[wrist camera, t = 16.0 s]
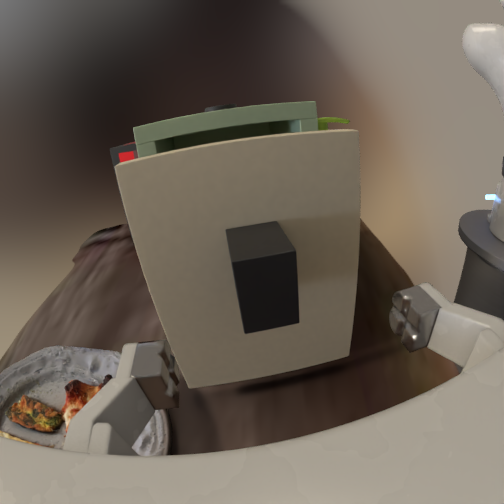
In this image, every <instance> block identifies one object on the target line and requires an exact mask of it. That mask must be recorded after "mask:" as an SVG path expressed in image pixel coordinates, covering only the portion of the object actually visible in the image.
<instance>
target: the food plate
mask: <svg viewBox="0 0 504 504" xmlns="http://www.w3.org/2000/svg"><path fill="white" fill-rule="evenodd" d="M120 357H121V353H118V352H117V351H111V350H110V351H109V350H105V351H104V350H102V349H101V350H99V349H98V350H97V349H88V348H82V347H81V348H79V347H70V346H69V347H67V346H66V347H63V346H59V345H57V346H54V347H49V348H44V349H42V350H40V351H38V352H36V353H32V354H31V355H30V356H28V357H26V358H24V359H22V360H21V361H19V362H17V363H14V364H13V365H11V366H9V367H8V368H7V369H5V370H4V371H3V372H2V373H1V374H0V436H2V437H5V438H9V439H13V440H16V441H21V442H25V443H29V444H34V445H39V446H44V447H50V448H55V449H62V450H63V447H64V443H65V439H66V434H67V431H68V427H69V423H70V420H71V419H72V418H73V417H74V416H75V415H76V414H77V413H78V412H79V411H80V410H81V409H82V408H83V407H84V406H85V405H86V404H87V403H88V402H89V401H90V400H91V399H92V398H93V397H94V396H95V395H96V394H97V393H98V392H99V391H100V390H101V389H102V388H103V387H104V386H105V385H106V384H107V383H108V382H109V381H110V380H111V379H112V378H116V374H117V369H118V365H119V361H120ZM155 411H156V412H155V413H154V415H153V416H152V418H151V419H150V421H149V422H148V424H147V425H146V427H145V428H144V430H143V431H142V433H141V434H140V436H139V437H138V439H137V440H136V442H135V443H134V445H133V446H132V449H133V450H134V451H135V452H136V453H137V454H138V455H140V456H168V455H169V454H170V451H171V445H172V441H171V440H172V439H171V437H172V426H171V422H170V417H169V413H168V411H167V409H162V410H155Z"/></svg>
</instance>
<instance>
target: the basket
mask: <svg viewBox="0 0 504 504" xmlns="http://www.w3.org/2000/svg"><path fill="white" fill-rule="evenodd" d="M115 171H116V176H117V180H118V184H119V189H120V193H121V197H122V201H123V205H124V209H125V212H126V216H127V220H128V223H129V227H130V230H131V234H132V237H133V241H134V244H135V247H136V251H137V254H138V257H139V260H140V264H141V267H142V270H143V273H144V276H145V279H146V282H147V285H148V288H149V290H150V293H151V296H152V299H153V302H154V305H155V307H156V310H157V313H158V315H159V318H160V321H161V323H162V326H163V328H164V331H165V333H166V336H167V338H168V341H169V343H170V346H171V348H172V351H173V353H174V355H175V358H176V360H177V363H178V365H179V367H180V369H181V372H182V374H183V376H184V378H185V381H186V383H187V385H188V387H189V388H197V387H205V386H212V385H219V384H226V383H232V382H238V381H244V380H249V379H255V378H260V377H265V376H270V375H275V374H279V373H284V372H288V371H293V370H297V369H301V368H305V367H310V366H314V365H317V364H321V363H325V362H329V361H332V360H336V359H340V358H343V357H347V356H349V351H350V344H351V336H352V328H353V319H354V310H355V300H356V288H357V275H358V260H359V238H360V156H359V133H358V131H357V130H351V129H344V130H343V129H341V130H322V131H307V132H295V133H284V134H274V135H265V136H257V137H249V138H242V139H235V140H228V141H222V142H215V143H209V144H204V145H198V146H193V147H187V148H182V149H177V150H172V151H168V152H163V153H158V154H154V155H150V156H145V157H141V158H137V159H133V160H129V161H125V162H121V163H119V164H117V165H116V166H115Z"/></svg>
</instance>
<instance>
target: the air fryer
mask: <svg viewBox="0 0 504 504" xmlns="http://www.w3.org/2000/svg"><path fill="white" fill-rule="evenodd" d="M133 130H134V136H135V142H136V145H137V146H136V147H137V152H138V157H139V158H141V157H145V156H150V155H154V154H158V153H163V152H168V151H172V150H177V149H182V148H187V147H193V146H198V145H204V144H209V143H215V142H222V141H228V140H235V139H242V138H249V137H257V136H265V135H274V134H284V133H295V132H307V131H318V120H317V109H316V102H315V101H311V102H291V103H279V104H278V103H277V104H267V105H256V106H247V107H239V108H237V107H236V104H229V105H220V106H214V107H209V108H205V113H199V114H193V115H188V116H183V117H178V118H173V119H169V120H164V121H159V122H155V123H151V124H146V125H142V126H138V127H134V128H133Z"/></svg>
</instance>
